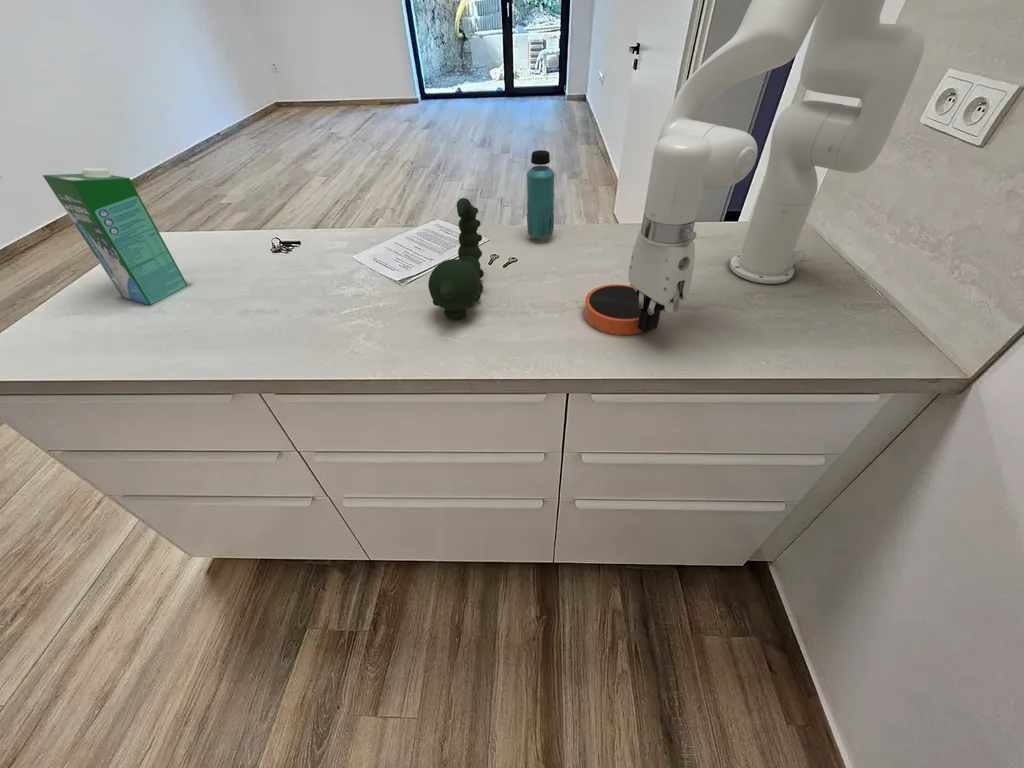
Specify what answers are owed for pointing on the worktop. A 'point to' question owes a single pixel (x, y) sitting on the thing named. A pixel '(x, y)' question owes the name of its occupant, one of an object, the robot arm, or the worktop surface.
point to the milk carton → (119, 233)
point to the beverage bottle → (540, 196)
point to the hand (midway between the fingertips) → (647, 328)
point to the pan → (613, 309)
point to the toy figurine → (460, 268)
